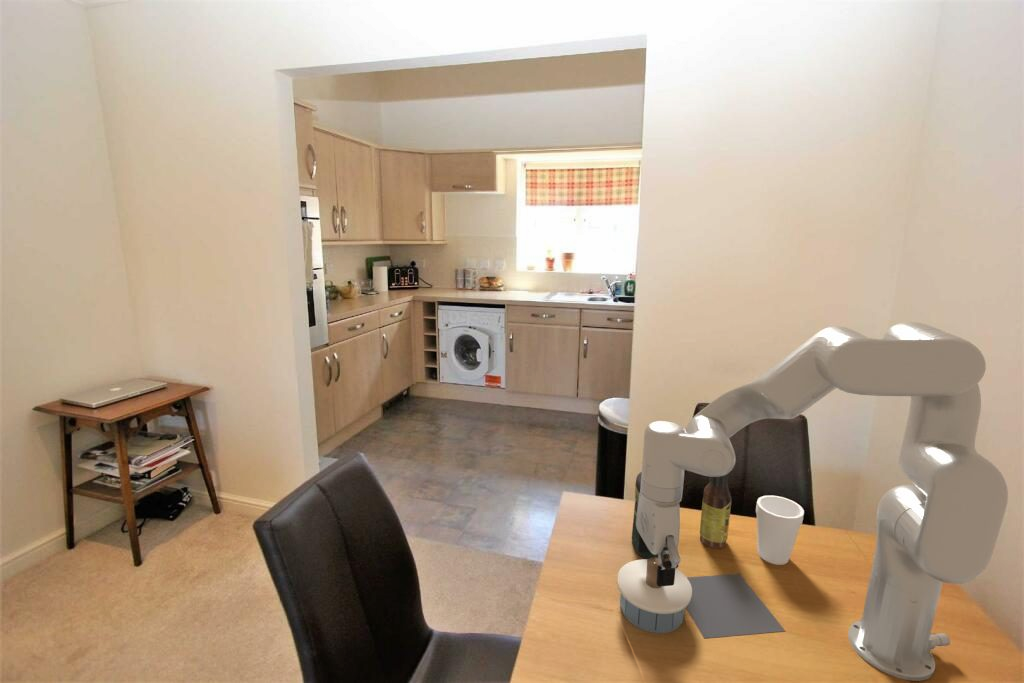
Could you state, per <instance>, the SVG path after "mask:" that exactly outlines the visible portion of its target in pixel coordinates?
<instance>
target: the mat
mask: <svg viewBox="0 0 1024 683" xmlns="http://www.w3.org/2000/svg"><path fill="white" fill-rule="evenodd" d="M686 577H687V576H686ZM687 579H688V580H689V582H690V584H691V587H692V597H691V601H690V603H689V605H688V606H687V607H686V608H685V609H686V610H687V612H688V614H689V615H690V617H691V619H692V621H694V623H695V626H696V627H697V628H698V630H699V632H700V633H701V635H702V637H703V638H704V639H715V638H723V637H725V638H727V637H737V636H747V635H749V636H750V635H758V634H761V635H762V634H770V633H782V632H786V629H785V628H784V627H783V625H781V623H780V622H779V621H778V620H777V618H776V617H775V616H774V614H772V612H771V611H770V609H769V608H768V607H767V606H766V604H764V602H763V600H761V599H760V597H759V596H758V595H757V594H756V592H755V591H754V590H753V588H752V587H751V586H750V584H749V583H748V582H747V581H746V580H745V578H744V577H743V576H742V574H741V573H731V574H730V573H728V574H716V575H715V574H714V575H705V576H704V575H702V576H700V575H699V576H693V577H692V576H690V577H687Z"/></svg>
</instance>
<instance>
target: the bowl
mask: <svg viewBox="0 0 1024 683" xmlns="http://www.w3.org/2000/svg"><path fill="white" fill-rule="evenodd" d="M619 604H620V608H621V613H623V615H624V618H626V619H627V621H628V622H629V623H630V624H632V625H633V626H635V627H636V628H638V629H640V630H643V631H646V632H648V633H654V634H667V633H671V632H674V631H676V630H677V629H679V627H680V626H681V625H682V624H683V622H684V614H685V609H683V610H681V611H679V612H676V613H671V614H657V613H652V612H648V611H645V610H642V609H640V608H638V607H636V606H634V605H633V604H631V603H630V602H629V601H627V600H626V599H625V598H624V597H623V595H622V594H621V593H620V594H619Z"/></svg>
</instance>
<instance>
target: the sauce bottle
mask: <svg viewBox="0 0 1024 683" xmlns="http://www.w3.org/2000/svg"><path fill="white" fill-rule="evenodd" d="M728 477H729V473H728V474H726V475H724V476H720V477H709V483H707V485H706V486H705V487H704V490H703V497H702V505H701V513H700V514H701V515H700V527H699V534H700V535H699V539H700V541H701V542H702V544H704V545H705V546H707V547H709V548H713V549H721V548H724V547H725V546H726V544H727V541H728V536H729V527H730V526H729V525H730V519H731V518H730V517H731V507H732V496H731V492H730V489H729V485H728V480H729V478H728Z"/></svg>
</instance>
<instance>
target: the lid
mask: <svg viewBox="0 0 1024 683" xmlns="http://www.w3.org/2000/svg"><path fill="white" fill-rule="evenodd" d="M658 566H660V563H659V558H656V557H651V558H649V559H647V558H644V559H643V558H642V559H636V560H632V561H629V562H627V563H626V564H624V565H622V566H621V568H620V569H619V571H618V572H617V583H616V584H617V587H618V590H619V592H620V595H621V594H622V595H623V597H624V598H625V599H626V600H627V601H629V602H630V603H631V604H633V605H634V606H636V607H638V608H640V609H642V610H645V611H648V612H652V613H657V614H671V613H676V612H679V611H681V610H683V609H684V610H685V609H687V608H686V607H687V606H688V605H689V603H690V601H691V597H692V587H691V584H690V582H689V580H688V579H687V576H686V575H685V574H684V573H683V572H682V571H680V570H679V569H678V568H677V569H675V580H674V585H672V586H660V587H659V586H658V585H657V584H656V582H657V570H658Z"/></svg>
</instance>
